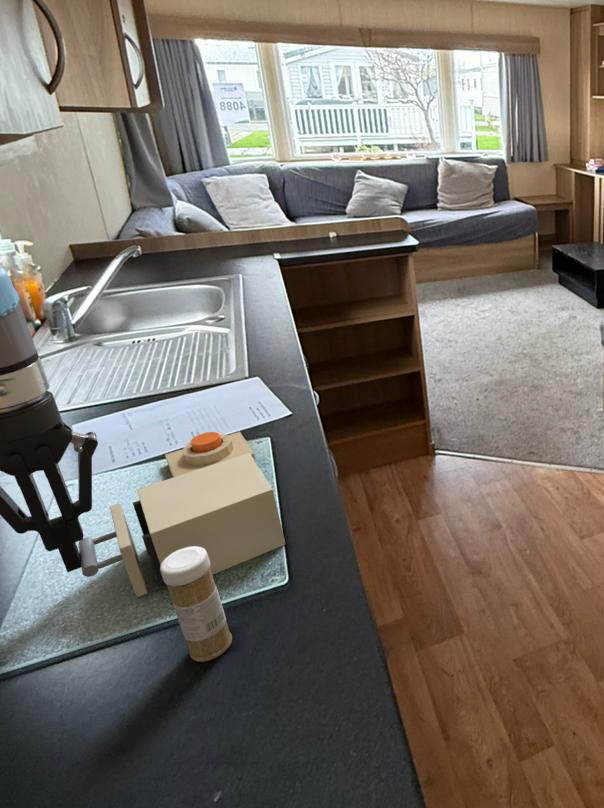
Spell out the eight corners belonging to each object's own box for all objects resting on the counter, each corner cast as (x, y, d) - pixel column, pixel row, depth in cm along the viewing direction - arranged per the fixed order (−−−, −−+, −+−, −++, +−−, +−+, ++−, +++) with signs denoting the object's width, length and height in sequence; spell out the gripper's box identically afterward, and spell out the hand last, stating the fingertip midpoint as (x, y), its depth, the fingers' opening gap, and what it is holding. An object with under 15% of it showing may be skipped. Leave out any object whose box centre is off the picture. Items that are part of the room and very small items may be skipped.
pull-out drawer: (95, 614, 81) (76, 564, 78) (88, 565, 89) (70, 519, 86) (250, 551, 92) (238, 505, 89) (230, 512, 100) (219, 469, 97)
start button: (195, 456, 110) (193, 447, 109) (190, 446, 113) (188, 437, 112) (224, 447, 112) (222, 438, 112) (218, 437, 116) (216, 429, 115)
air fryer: (169, 592, 86) (150, 533, 82) (154, 544, 95) (136, 489, 91) (285, 544, 94) (272, 489, 91) (262, 504, 103) (249, 452, 100)
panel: (178, 490, 107) (172, 470, 105) (168, 465, 114) (162, 445, 113) (256, 464, 114) (251, 444, 113) (242, 441, 121) (237, 422, 120)
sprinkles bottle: (221, 627, 80) (194, 539, 75) (240, 644, 78) (214, 554, 73) (182, 652, 77) (151, 561, 72) (200, 670, 74) (170, 578, 69)
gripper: (-72, 431, 68) (7, 606, 76) (82, 394, 75) (138, 556, 84) (-66, 406, 73) (8, 571, 82) (78, 373, 81) (131, 528, 90)
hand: (74, 563), depth 83 cm, fingers closed
